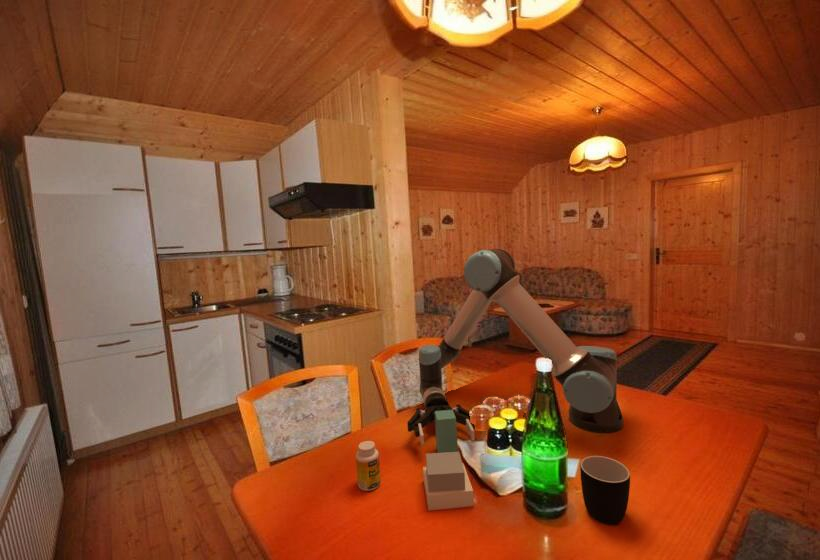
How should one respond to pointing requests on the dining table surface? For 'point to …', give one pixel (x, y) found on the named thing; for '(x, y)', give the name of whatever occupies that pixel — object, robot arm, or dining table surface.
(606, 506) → the mug
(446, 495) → the base brick
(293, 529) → the dining table surface
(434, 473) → the grey brick
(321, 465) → the dining table surface
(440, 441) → the teal brick
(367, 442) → the supplement bottle
